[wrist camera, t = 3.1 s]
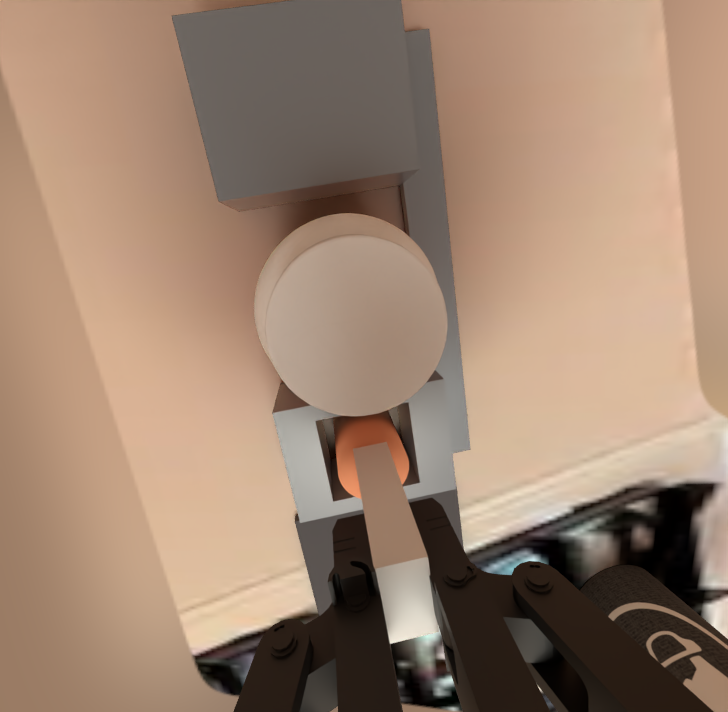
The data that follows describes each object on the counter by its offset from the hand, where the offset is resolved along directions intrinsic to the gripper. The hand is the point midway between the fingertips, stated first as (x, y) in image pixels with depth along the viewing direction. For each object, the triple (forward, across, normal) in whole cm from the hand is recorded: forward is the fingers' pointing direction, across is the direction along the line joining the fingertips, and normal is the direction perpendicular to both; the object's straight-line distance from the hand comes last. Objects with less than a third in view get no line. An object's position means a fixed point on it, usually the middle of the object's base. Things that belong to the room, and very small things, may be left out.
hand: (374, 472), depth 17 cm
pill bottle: (+6, 0, +8) cm, 10 cm away
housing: (+6, +1, +8) cm, 9 cm away
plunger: (+5, 0, 0) cm, 5 cm away
